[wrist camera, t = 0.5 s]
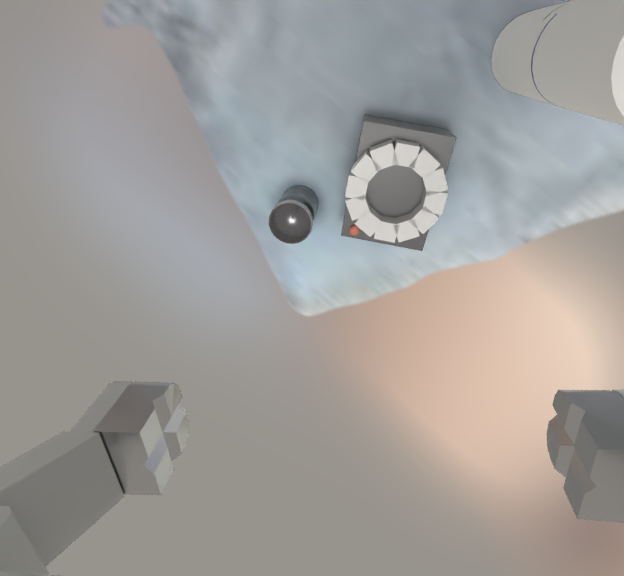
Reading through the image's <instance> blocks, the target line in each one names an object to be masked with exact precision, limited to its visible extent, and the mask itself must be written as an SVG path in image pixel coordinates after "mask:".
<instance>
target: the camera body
mask: <svg viewBox="0 0 624 576" xmlns="http://www.w3.org/2000/svg"><path fill="white" fill-rule="evenodd" d="M455 141H456V137H455V136H454V135H453V134H452V133H451V132H450V131H449V130H448V129H442V128H437V127H431V126H426V125H420V124H414V123H409V122H403V121H398V120H392V119H387V118H381V117H376V116H370V115H365V116H364V121H363V126H362V131H361V136H360V141H359V146H358V151H357V156H356V161H355V164H354V165H353V166H352V168H351V171H350V173H349V178H348V183H347V188H346V193H345V197H346V199H345V202H346V205H347V207H346V212H345V217H344V222H343V227H342V233H341V236H347V237H352V238H357V239H362V240H368V241H373V242H378V243H383V244H389V245H394V246H399V247H404V248H410V249H415V250H420V251H422V250H423V247H424V244H425V240H426V237H427V234H428V230H429V228H430V227H431V226H432V225H433V224H434V223H435V222H436V221H437V220H439V217H438V215H442V212H443V209H444V206H445V203H446V199H447V196H448V192H447V191H446V190H448V186H447V182H446V178H445V174H446V171H447V167H448V164H449V161H450V157H451V154H452V151H453V147H454V144H455Z"/></svg>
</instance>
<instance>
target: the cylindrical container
mask: <svg viewBox="0 0 624 576" xmlns="http://www.w3.org/2000/svg"><path fill="white" fill-rule="evenodd" d="M491 66H492V71H493V74H494V77H495V79H496V80H497V82H498V83H499V85H500V86H502V87H503V88H504V89H506V90H507V91H509V92H512V93H515V94H519V95H522V96H525V97H529V98H532V99H536V100H539V101H542V102H546V103H549V104H553V105H556V106H560V107H563V108H566V109H570V110H573V111H576V112H580V113H583V114H586V115H590V116H593V117H597V118H600V119H603V120H607V121H610V122H614V123H617V124H621V125H624V0H572V1H568V2H564V3H561V4H557V5H553V6H549V7H545V8H541V9H537V10H534V11H530V12H527V13H524V14H522V15H520V16H518V17H517V18H515V19H513V20H512V21H511V22H510V23H509V24H508V25H507V26H506V27H505V28H504V29H503V30H502V32H501V33H500V35H499V36H498V38H497V40H496V42H495V45H494V47H493V51H492V56H491Z"/></svg>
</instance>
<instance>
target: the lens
mask: <svg viewBox="0 0 624 576" xmlns="http://www.w3.org/2000/svg"><path fill="white" fill-rule="evenodd" d="M317 209H318V199H317V196H316V195H315V193H314V192H313V191H312V190H311V189H310V188H308V187H306V186H302V185H296V186H293V187H290V188H289V189H288V190H286V192H285V193H284V195H283V196H282V198H281V199H280V201H279V202H278V204H277V205H276V206H275V207H274V209H273V210H272V212H271V214H270V216H269V227H270V230H271V232H272V233H273V235H274V236H275V237H276V238H277V239H279V240H280V241H282V242H285V243H289V244H294V243H299V242H301V241H303V240H304V239H306V238H307V237H308V235H309V234H310V232H311V229H312V225H313V221H314V218H315V215H316V212H317Z"/></svg>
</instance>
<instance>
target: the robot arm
mask: <svg viewBox="0 0 624 576" xmlns="http://www.w3.org/2000/svg"><path fill="white" fill-rule="evenodd" d="M181 399H182V394H181V391H180V388H179V386H178V385H177V384H175V383H160V382H125V381H114V382H112V383H109V384H108V385H107V387H106V388H105V389H104V390H103V391H102V393H101V394H100V395H99V396H98V398H97V399H96V400H95V401H94V402H93V404H92V405H91V406H90V407H89V409H88V410H87V411H86V412H85V414H84V415H83V416H82V417H81V418H80V419H79V421H78V422H77V423H76V424H75V426H74V427H73V428H72V429H71V430H70V431H67V432H66V431H63V432H61V433H59V434H58V435H56V436H54V437H52V438H51V439H49V440H47V441H45V442H43V443H42V444H40V445H38V446H36V447H35V448H33V449H31V450H29V451H27V452H26V453H24V454H22V455H20V456H19V457H17V458H15V459H14V460H12V461H10V462H8V463H6V464H5V465H3V466H1V467H0V576H58V575H50V573H49V572H48V570H47V568H46V566H47V565H48V564H49V563H50V562H51V561H53V560H54V559H55V558H56V557H57V556H58V555H59V554H60V553H62V552H63V551H64V550H65V549H66V548H67V547H68V546H69V545H71V544H72V543H73V542H74V541H75V540H76V539H77V538H78V537H79V536H81V535H82V534H83V533H84V532H85V531H86V530H87V529H89V528H90V527H91V526H92V525H93V524H94V523H95V522H96V521H97V520H99V519H100V518H101V517H102V516H103V515H104V514H105V513H106V512H108V511H109V510H110V509H111V508H112V507H113V506H114V505H116V504H117V503H118V502H119V501H120V500H121V499H122V498H123V497H124V494H130V495H162V493H163V491H164V489H165V487H166V485H167V483H168V481H169V479H170V477H171V475H172V473H173V471H174V468H173V465H172V460H174V459H175V458H176V457H178V456H179V455H180V454H182V452H183V450H184V448H185V445H186V443H187V439H188V434H189V420H188V415H187V412H186V411H185V410H184V409H183V408H182V407H181V406H180V405H179V402H180V400H181ZM553 407H554V409H555V411H556V413H557V415H556V416H555V417H554V418H553V419H552V420H550V421H549V424H548V430H547V446H548V451H549V455H550V459H551V461H552V463H553V465H554V468H555V469H556V470H557V471H558V472H559V473H561V474H562V475H563V476H565V477H566V480H565V484H564V490H565V493H566V495H567V497H568V499H569V502H570V504H571V506H572V508H573V510H574V513H575V515H576V517H577V519H584V520H596V521H608V522H620V523H624V390H612V391H610V390H558V391H557V393H556V395H555V397H554V401H553Z"/></svg>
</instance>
